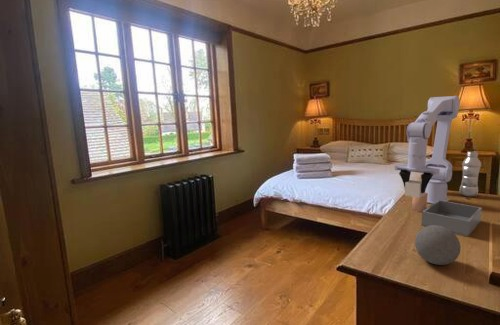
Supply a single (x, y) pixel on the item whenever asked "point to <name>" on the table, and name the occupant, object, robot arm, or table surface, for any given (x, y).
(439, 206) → the box
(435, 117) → the robot arm
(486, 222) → the table surface
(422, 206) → the brown egg
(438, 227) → the decorative ball
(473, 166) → the plastic bottle
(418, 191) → the cube
